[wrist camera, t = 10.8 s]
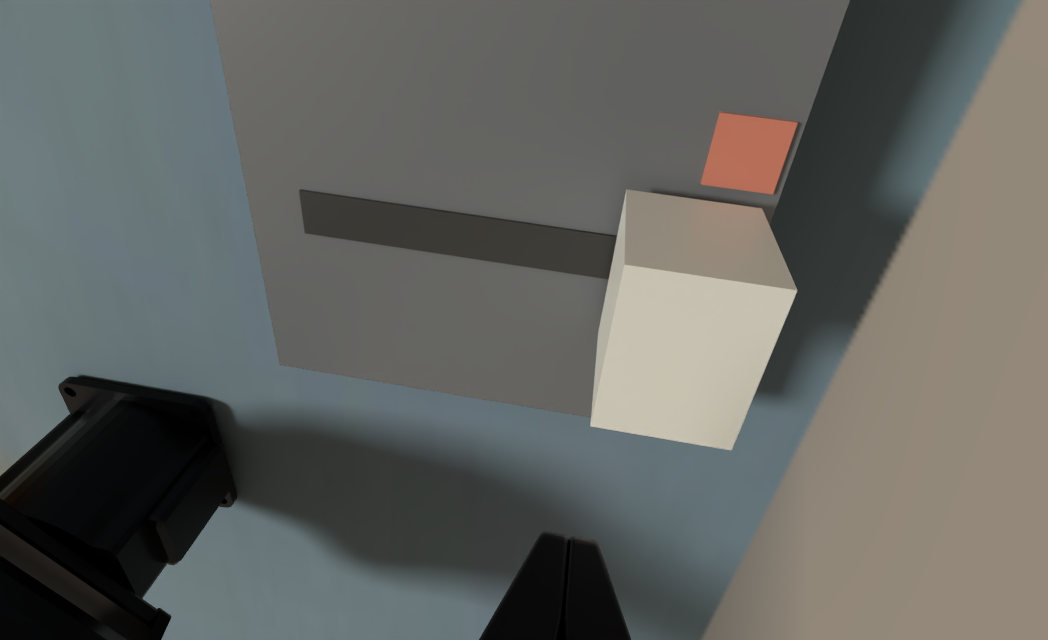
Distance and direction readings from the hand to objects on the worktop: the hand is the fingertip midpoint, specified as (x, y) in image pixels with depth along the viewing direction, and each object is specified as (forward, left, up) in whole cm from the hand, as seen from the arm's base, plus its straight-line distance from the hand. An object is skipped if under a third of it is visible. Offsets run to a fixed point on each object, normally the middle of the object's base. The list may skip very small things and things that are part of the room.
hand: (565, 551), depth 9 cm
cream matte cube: (+2, +1, -7) cm, 8 cm away
